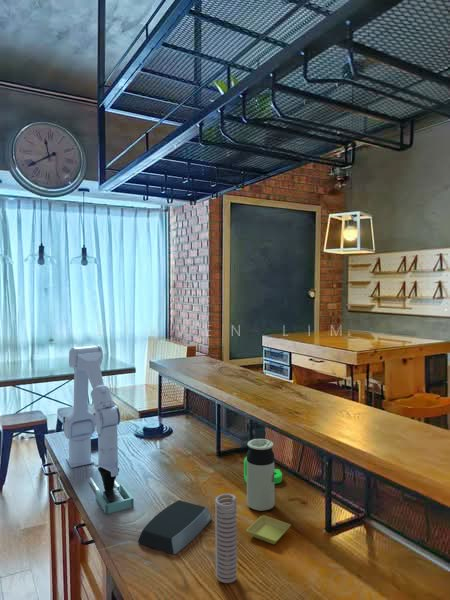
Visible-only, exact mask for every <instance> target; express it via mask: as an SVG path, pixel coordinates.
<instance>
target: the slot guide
mask: <svg viewBox="0 0 450 600" xmlns="http://www.w3.org/2000/svg"><path fill="white" fill-rule="evenodd" d="M88 479H89V480H88V481H89V484H90V485H91V487H92V488H93V490H95V491H94V492H95V493H96V490H99V491H100V489H99V487H98V486H97V484H96V483H95V480H94V479H93V478H92V477H88ZM113 488H114V489H115V488H116V489H117V490H118V491H119V492H120V484H118V482H117V480H115V482H114V487H113ZM100 492H101V491H100Z"/></svg>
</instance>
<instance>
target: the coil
mask: <svg viewBox="0 0 450 600" xmlns="http://www.w3.org/2000/svg"><path fill="white" fill-rule="evenodd" d="M237 505H238V504H237V496H236V495H235V494H233V493H232V494H231V493H222V494H219V495H217V496H216V497H215V500H214V507H215V509H214V510H215V511H214V512H215V514H214V515H215V516H214V517H215V519H214V520H215V524H214V525H215V531H214V532H215V541H214V542H215V577H216V579H217V580H218V581H219V582H222V583H223V584H224V583H225V584H230V583H233V582H235V581H236V580H237V578H238V576H237V573H238V570H237V568H238V565H237V564H238V561H237V559H238V555H237V554H238V552H237V550H238V548H237V546H238V544H237V543H238V542H237V540H238V539H237V536H238V535H237V530H238V529H237V527H238V526H237V523H238V521H237V518H238V517H237V513H238V512H237Z"/></svg>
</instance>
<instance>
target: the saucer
mask: <svg viewBox="0 0 450 600" xmlns="http://www.w3.org/2000/svg"><path fill="white" fill-rule="evenodd" d="M291 526H292V524H291V523H288V522H286V521H282V520H280V519H276V518H273V517H270V516H267V515H265V514H264V515H260V516H259V517H258V518H257V519H256V520H255V521H254V522H253V523H252V524H251V525H250V526H249V527H248V528H246V532H247V533H248V535H250V536H251V537H252V538H255V539H257V540H261V541H263V542H266V543H268V544H271V545H275V544H276V543H277V542H279V540H281V538H282V537H283V536H284V534H286V532H287V531H288V530H289V529H290V528H291Z"/></svg>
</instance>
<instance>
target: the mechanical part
mask: <svg viewBox="0 0 450 600" xmlns="http://www.w3.org/2000/svg"><path fill="white" fill-rule="evenodd" d="M243 478H244V482H245V483H246V484H247V455H246V456H245V457H244V459H243ZM282 482H283V472H282V471H281V470H280V469H279V468H274V485H276V484H280V483H282Z"/></svg>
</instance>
